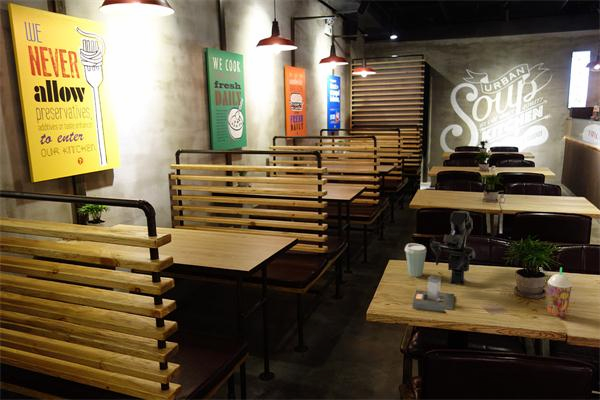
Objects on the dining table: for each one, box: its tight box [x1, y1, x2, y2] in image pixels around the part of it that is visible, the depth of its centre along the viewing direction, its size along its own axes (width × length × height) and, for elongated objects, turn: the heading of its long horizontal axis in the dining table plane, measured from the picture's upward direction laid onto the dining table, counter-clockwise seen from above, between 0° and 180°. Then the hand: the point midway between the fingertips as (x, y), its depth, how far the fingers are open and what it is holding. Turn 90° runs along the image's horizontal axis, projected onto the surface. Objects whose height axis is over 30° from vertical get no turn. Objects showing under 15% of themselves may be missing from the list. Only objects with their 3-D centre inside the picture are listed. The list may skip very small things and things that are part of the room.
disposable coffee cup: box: [404, 242, 427, 278], centre depth 232 cm, size 11×11×15 cm
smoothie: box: [546, 267, 573, 319], centre depth 185 cm, size 8×8×20 cm
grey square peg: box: [426, 274, 442, 302], centre depth 200 cm, size 4×4×12 cm
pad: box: [480, 303, 510, 315], centre depth 191 cm, size 8×8×2 cm
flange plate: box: [412, 289, 455, 313], centre depth 201 cm, size 14×16×3 cm
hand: (446, 266), depth 205 cm, fingers open, 9 cm apart
